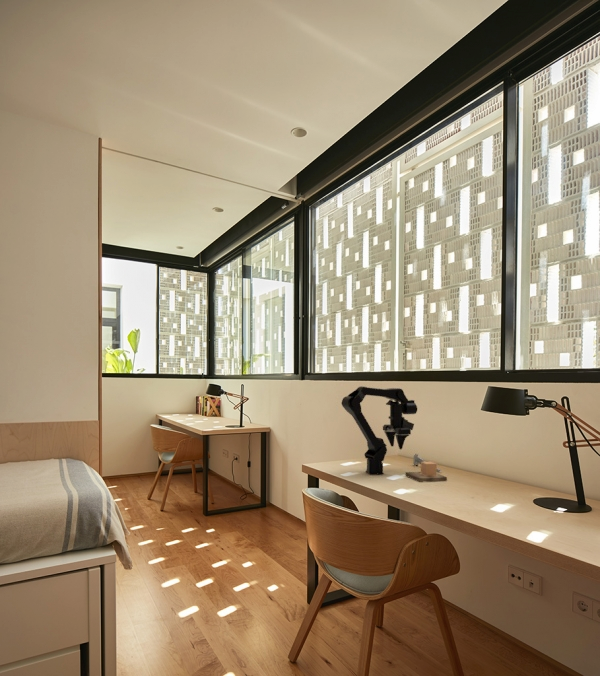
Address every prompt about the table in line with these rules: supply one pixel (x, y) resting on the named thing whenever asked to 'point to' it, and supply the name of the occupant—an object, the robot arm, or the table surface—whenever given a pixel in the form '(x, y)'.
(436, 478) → the post board
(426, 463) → the light brown cube
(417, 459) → the caliper
